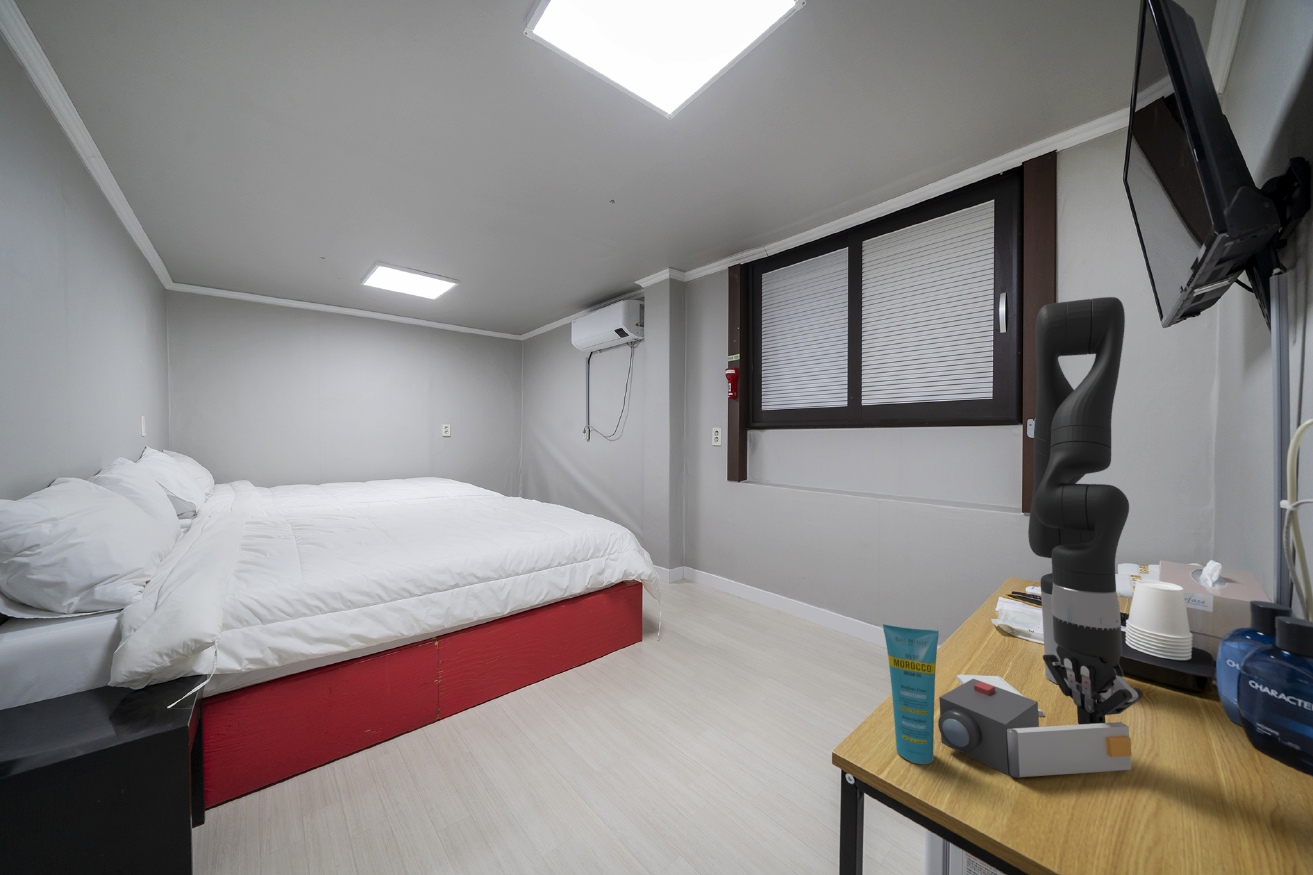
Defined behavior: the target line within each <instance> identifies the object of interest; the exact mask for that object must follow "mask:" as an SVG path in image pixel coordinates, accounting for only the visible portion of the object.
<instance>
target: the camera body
mask: <svg viewBox="0 0 1313 875" xmlns="http://www.w3.org/2000/svg"><path fill="white" fill-rule="evenodd" d="M1023 696H1024V695H1023ZM1023 696H1020V695H1018V694H1015V693H1012V692H1009V691H1007V690H1004V689H1001V688H998V687H995V686H993V685H990V684H987V683H984V682H982V681H979V680H976V679H971V680H970V681H968V682H966V683H964V684H961V685H958V686H957V687H955V688H954V689H952V690H950V691H948V692H946V693H944V694H942V695H940V696H939V699H938V700H939V718H938V721H937V726H938V730H939V733H940V737H941V738H940V739H941V743H942V744H944V745H947V746H948V747H949V748H952V749H954V750H956V751H958V752H961V753H963V754H964V755H967V756H969V757H971V758H972V759H975V760H977V761H979V762H980V763H983V764H985V765H986V766H989V767H991V768H993V769H995V770H996V771H999V772H1001V773H1003V774H1005V775H1007V776H1009V775H1010V774H1009V758H1008V739H1007V729H1008V728H1011V729H1015V728H1031V727H1040V721H1039V720H1040V718H1039V717H1040V716H1039V715H1038V708H1039V702H1038V701H1036V700H1034V699H1031V698H1029V697H1026V696H1024V697H1023Z"/></svg>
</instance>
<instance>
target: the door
mask: <svg viewBox="0 0 1313 875" xmlns="http://www.w3.org/2000/svg"><path fill="white" fill-rule="evenodd" d="M1007 739H1008V758H1009V775H1010V776H1011V777H1013V778H1016V779H1020V778H1027V777H1040V776H1043V777H1044V776H1054V775H1055V776H1056V775H1057V776H1058V775H1070V774H1071V775H1072V774H1085V773H1086V774H1088V773H1100V772H1103V773H1104V772H1114V771H1129V770H1131V771H1132V762H1131V761H1132V760H1131V759H1132V758H1131V756H1132V742H1131V738H1130V729H1129V725H1128V724H1125V723H1123V722H1121V721H1118V722H1116V721H1115V722H1105V723H1097V724H1081V725H1079V724H1067V725H1053V726H1052V725H1050V726H1039V727H1031V728H1015V729H1011V728H1008V729H1007Z"/></svg>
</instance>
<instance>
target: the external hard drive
mask: <svg viewBox="0 0 1313 875" xmlns="http://www.w3.org/2000/svg"><path fill="white" fill-rule="evenodd" d="M957 679H958V680H959V681H960V682H959V681H958V680H957ZM971 679H976V680H979V681H982V682H984V683H987V684H990V685H993V686H995V687H998V688H1001V689H1004V690H1007V691H1009V692H1012V693H1015V694H1018V695H1020V696H1023V697H1025V696H1024V695H1023V694H1022V693H1020V692H1019V691H1018V690H1017V689H1016V688H1015V687H1013V686H1012V685H1011V684H1010V683H1008V682H1007V681H1006V680H1005V679H1003V678H1002V677H1001V676H999V675H979V674H974V675H973V674H957V675H956V680H957V681H958V682H959V684H961V683H962V684H964V683H966V682H968V681H970V680H971ZM962 684H961V685H962ZM1038 715H1039V717H1041V718H1042V717H1044V716H1045V715H1044V711H1043V710H1041V709H1040V708H1039V707H1038Z"/></svg>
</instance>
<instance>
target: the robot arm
mask: <svg viewBox="0 0 1313 875" xmlns="http://www.w3.org/2000/svg"><path fill="white" fill-rule="evenodd" d="M1125 317H1126V316H1125V308H1124V305H1123V302H1122V301H1121V300H1120V299H1119V298H1118V297H1114V296H1107V297H1105V296H1104V297H1103V296H1102V297H1096V298H1095V297H1094V298H1087V299H1078V300H1069V301H1061V302H1054V303H1049V304H1045V305H1043V306H1042V307H1041V308H1040V309H1039V311H1038V313H1037V315H1036V320H1035V330H1034V331H1035V333H1034V334H1035V336H1034V337H1035V340H1034V342H1035V364H1036V365H1035V366H1036V400H1035V402H1036V403H1035V404H1036V405H1035V413H1034V414H1035V416H1034V417H1035V418H1034V428H1033V487H1032V488H1033V489H1032V498H1031V504H1030V511H1029V512H1030V513H1029V519H1028V520H1029V521H1028V530H1027V531H1028V533H1027V534H1028V543H1029V547H1030V549H1031V551H1032V552H1033V554H1034V555H1036V556H1038V557H1041V558H1046V559H1051V571H1052V572H1051V573H1048V574H1044V575H1043V576H1041V578H1040V594H1041V595H1040V597H1041V598H1040V599H1041V612H1042V616H1041V617H1042V630H1043V633H1042V634H1043V650H1044V652H1043V653H1044V654H1043V655H1042V659H1043V661H1044V667H1045V668H1044V669H1045V677H1046V678H1047V679H1048V680H1049V681H1050V682H1053V683H1054V684H1057V685H1058V687H1059V689H1060V691H1061V693H1062V694H1063V695H1064V696H1065V697H1070V698H1071V699H1072V701H1073V703H1074V705H1075V706H1076V712H1077V715H1076V716H1077V725H1081V724H1097V723H1106V716H1111V715H1120V714H1122V713H1124V712H1125V711H1126V710H1127V709H1128V708H1130V707H1131V706H1133V705H1134V704H1136V703H1137V702H1139V701H1140V700H1141V699H1143V697H1144V693H1143V692H1142V691H1141V689H1140V688H1138V687H1135V688H1133V687H1132V686H1130V684H1129V683H1128V681H1126V680H1125V679H1124V671H1123V669H1122V667H1121V665H1120V659H1121V656H1122V655H1123V638H1122V624H1121V622H1122V621H1121V620H1122V619H1121V608H1120V606H1121V605H1120V603H1119V599H1118V594H1117V593H1118V592H1117V584H1116V583H1117V582H1116V581H1117V580H1116V578H1117V577H1116V558H1117V557H1116V556H1117V549H1118V546H1119V542H1120V541H1119V540H1120V539H1121V535H1122V532H1123V530H1124V527H1125V525H1126V523H1127V520H1128V517H1129V512H1130V502H1129V499H1128V497H1127V496H1126V494H1125V493H1124V492H1123V491H1122V490H1121V489H1120V488H1119V487H1117V486H1115V485H1113V484H1107V483H1106V484H1105V483H1100V484H1099V483H1097V484H1096V483H1078V482H1079V481H1081V479H1083V478H1084V476H1085V475H1087V474H1088V475H1089V474H1095V473H1099V472H1102V471H1105V470H1107V469H1108V468H1109V467H1110V466H1111V463H1112V418H1113V417H1112V415H1113V407H1114V400H1115V395H1116V389H1117V385H1118V378H1119V373H1120V368H1121V360H1122V352H1123V346H1124V338H1125V336H1124V335H1125V328H1126V327H1125V325H1126V324H1125V323H1126V319H1125ZM1085 355H1086V356H1087V355H1095V357H1094V361H1093V364H1092V366H1091V368H1090V370H1089V371H1088V373H1087V374H1086V376H1085V377H1084V378H1083V380H1082V381H1081V382H1080V383H1079V384H1078V385H1077V386H1076V388H1073V387H1072V385H1071V384H1070V382H1069V381H1068V380H1067V378H1066V376H1065V374H1064V371H1063V370H1062V368H1061V367H1062V366H1061V365H1060V361H1059V357H1068V356H1070V357H1072V356H1085Z"/></svg>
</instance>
